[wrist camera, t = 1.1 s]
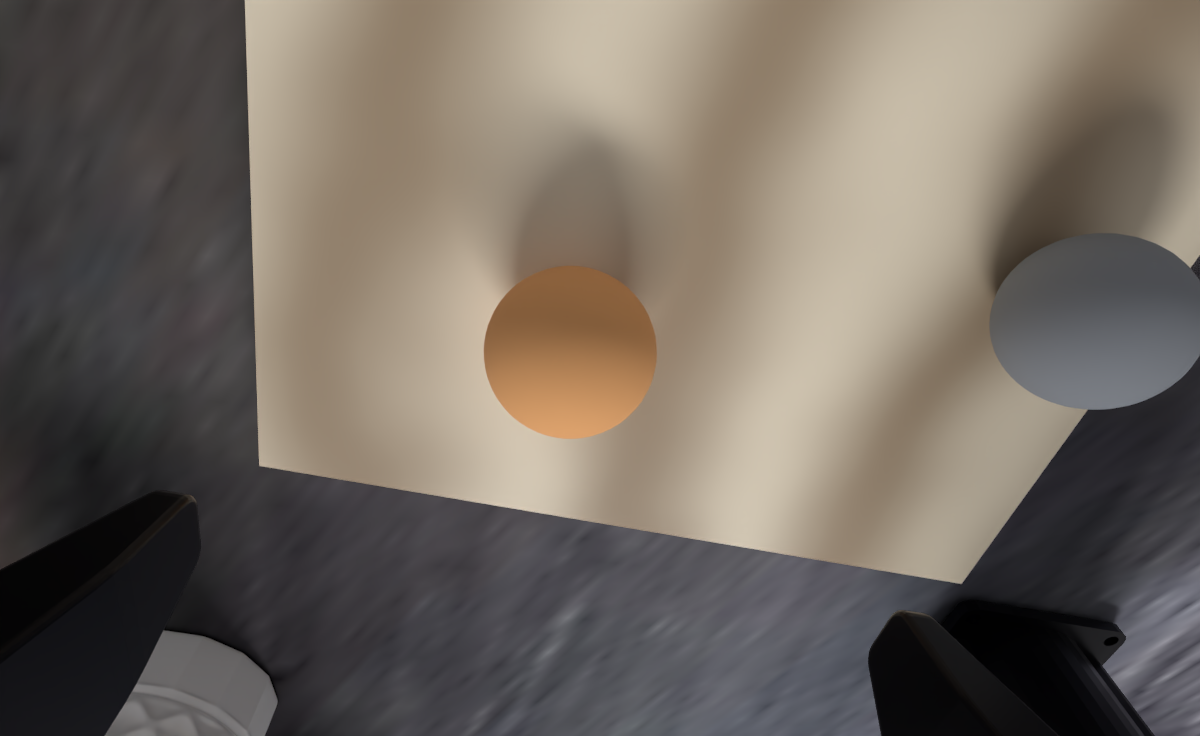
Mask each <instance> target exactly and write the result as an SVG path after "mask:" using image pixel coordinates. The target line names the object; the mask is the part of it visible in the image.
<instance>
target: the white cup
mask: <svg viewBox="0 0 1200 736" xmlns="http://www.w3.org/2000/svg"><path fill="white" fill-rule="evenodd" d="M277 703H278V700H277V697H276V694H275V691H274V688H273V685H272V683H271V680H270V677H269V676H268V675H267V674H266V673H265V672H264V671H263V670H262V669H261V668H260V667H259V666H258V665H256V664H255V663H254V662H253V661H252V660H251V659H250V658H249V657H247V656H246V655H245V654H244V653H242V652H240V651H238V650H235V649H233V648H231V647H229V646H226V645H224V644H222V643H219V642H217V641H215V640H212V639H210V638H208V637H205V636H200V635H194V634H187V633H180V632H173V631H166V630H163V632H162V634H161V636H160V638H159V640H158V642H157V644H156V646H155V649H154V651H153V653H152V655H151V657H150V659H149V661H148V663H147V665H146V667H145V669H144V670H143V672H142V674H141V676H140V678H139V680H138V682H137V684H136V686H135V687H134V689H133V691H132V693H131V694H130V696H129V698H128V699H127V701H126V703H125V704H124V706H123V708H122V709H121V711H120V712H119V714H118V716H117V717H116V719H115V720H114V722H113V723H112V725H111V727H110V728H109V730H108V731H107V733H106V735H105V736H265V734H266V732H267V729H268V727H269V724H270V722H271V719H272V717H273V714H274V712H275V709H276V706H277Z"/></svg>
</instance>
